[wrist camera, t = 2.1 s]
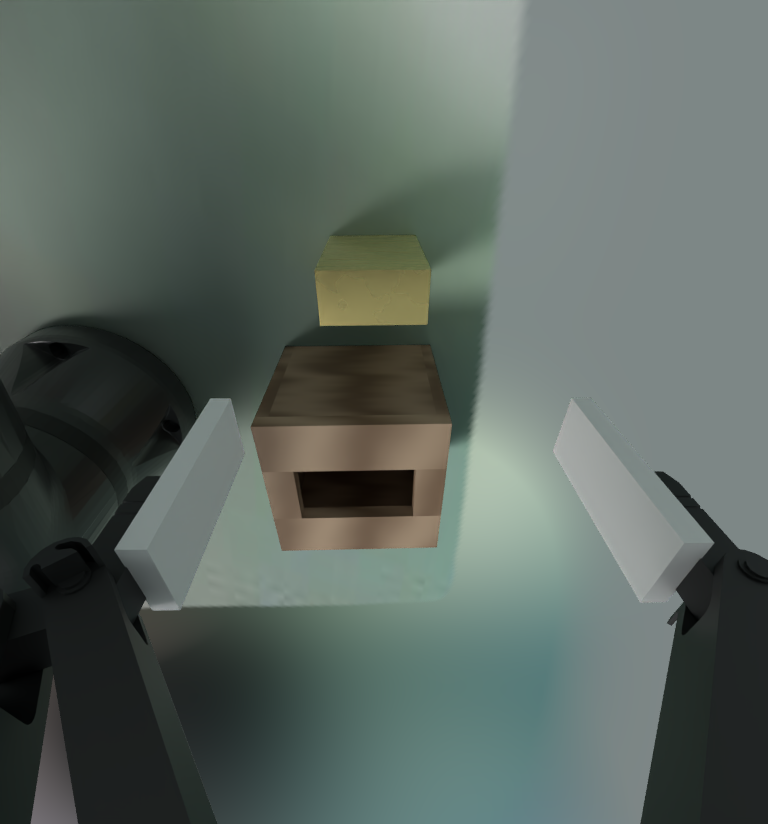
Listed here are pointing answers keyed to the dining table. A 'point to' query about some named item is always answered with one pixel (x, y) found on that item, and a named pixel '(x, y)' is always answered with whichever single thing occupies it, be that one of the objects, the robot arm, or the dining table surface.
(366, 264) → the rectangular block
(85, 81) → the dining table surface
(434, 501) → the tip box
